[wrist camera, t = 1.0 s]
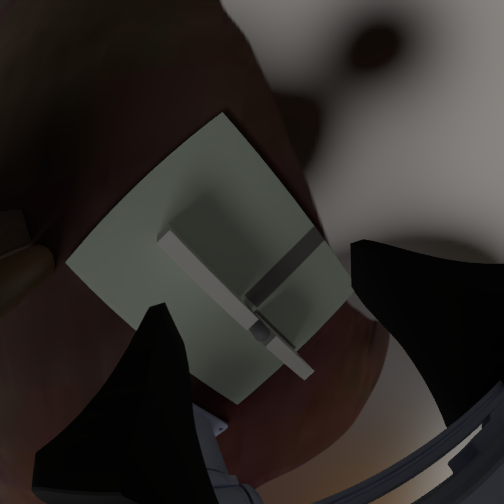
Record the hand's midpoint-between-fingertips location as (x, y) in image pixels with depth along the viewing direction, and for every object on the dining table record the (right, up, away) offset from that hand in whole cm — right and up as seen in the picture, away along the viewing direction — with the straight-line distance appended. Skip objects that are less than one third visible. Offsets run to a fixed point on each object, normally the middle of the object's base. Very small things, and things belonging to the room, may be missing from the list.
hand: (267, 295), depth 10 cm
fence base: (+1, -6, +16) cm, 17 cm away
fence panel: (-5, 0, +13) cm, 14 cm away
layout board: (-3, -1, +15) cm, 15 cm away
